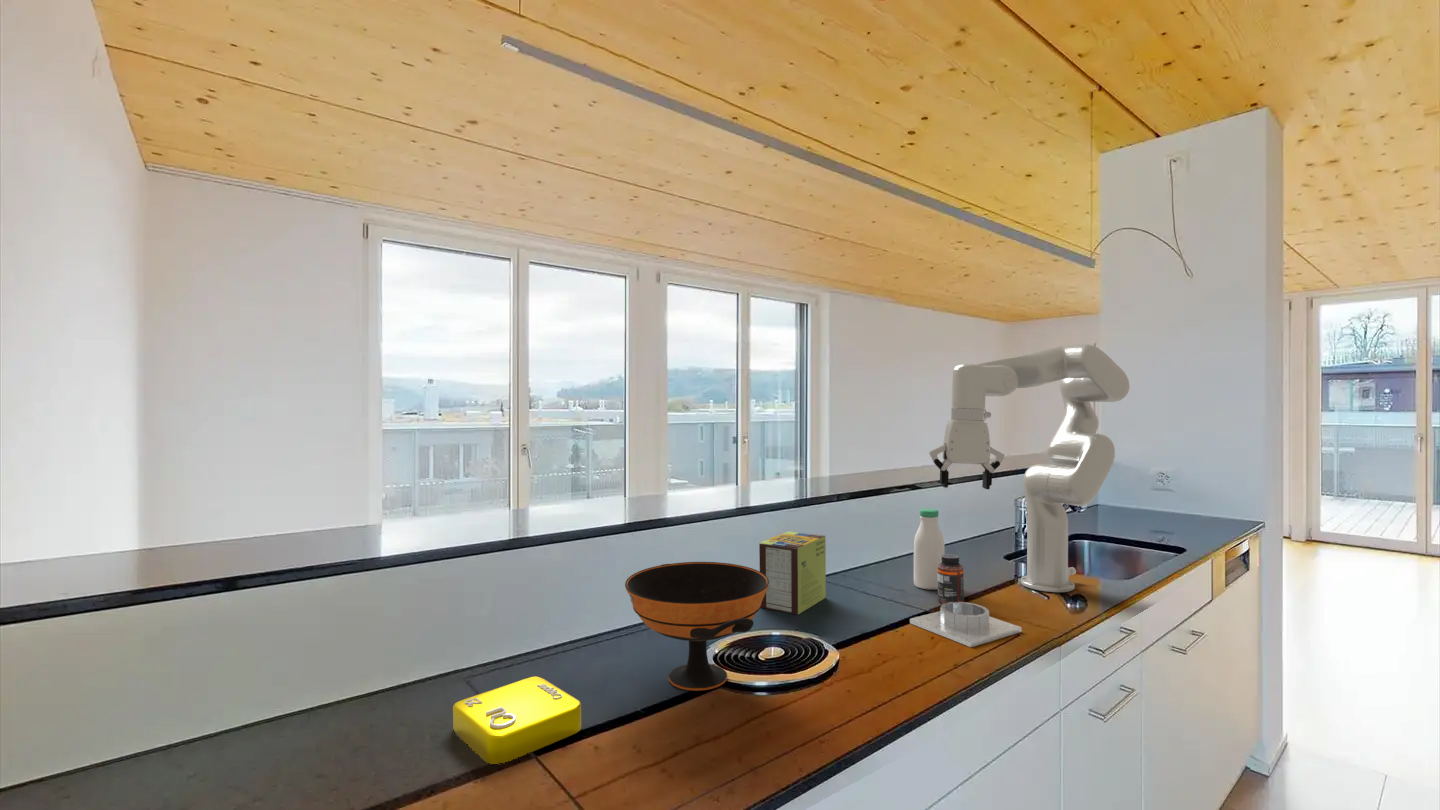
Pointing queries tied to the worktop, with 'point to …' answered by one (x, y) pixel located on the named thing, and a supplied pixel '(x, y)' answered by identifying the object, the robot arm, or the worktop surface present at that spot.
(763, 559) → the protein box
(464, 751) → the worktop surface
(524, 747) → the element tile
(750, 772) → the worktop surface
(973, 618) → the duct flange
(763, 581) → the greek kylix
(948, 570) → the supplement bottle
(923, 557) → the milk bottle
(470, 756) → the worktop surface
